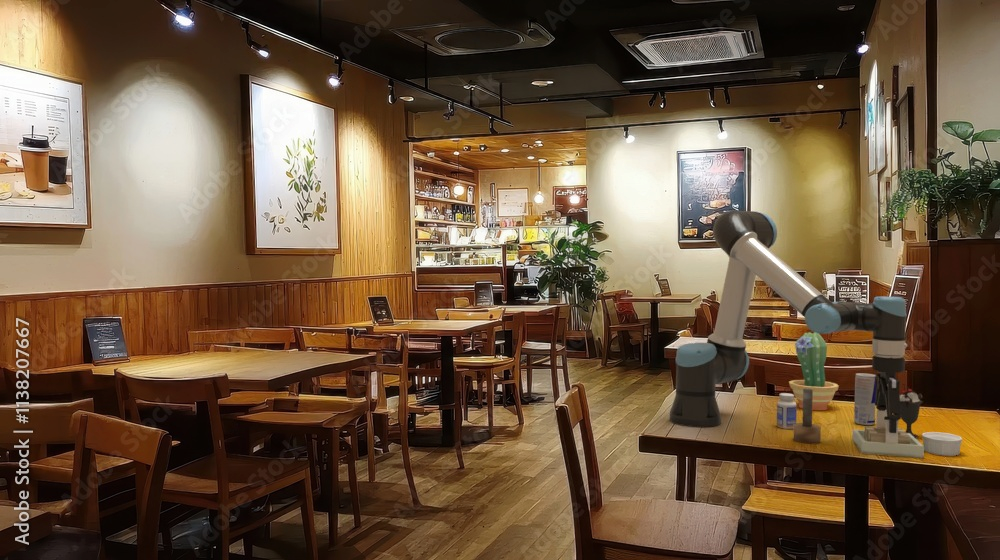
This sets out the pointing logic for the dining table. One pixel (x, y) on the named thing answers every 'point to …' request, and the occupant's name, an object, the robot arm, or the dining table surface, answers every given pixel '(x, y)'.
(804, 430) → the stake
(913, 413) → the sundae
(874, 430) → the ring
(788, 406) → the pill bottle
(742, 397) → the dining table surface
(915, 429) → the dining table surface
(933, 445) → the ramekin
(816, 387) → the potted cactus
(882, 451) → the tray
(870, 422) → the beverage can
